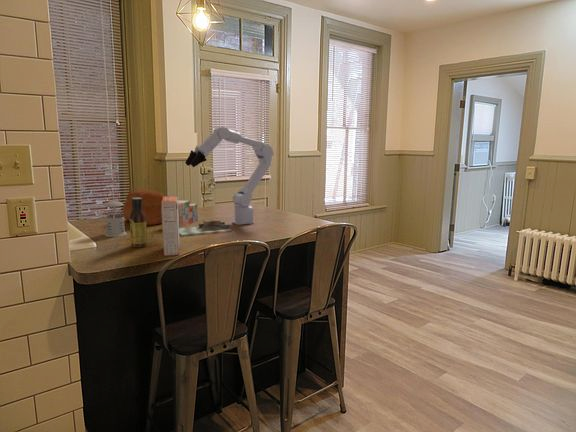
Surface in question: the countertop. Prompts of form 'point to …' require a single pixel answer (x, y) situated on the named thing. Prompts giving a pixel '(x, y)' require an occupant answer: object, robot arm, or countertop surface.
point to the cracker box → (170, 225)
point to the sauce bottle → (138, 224)
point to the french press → (114, 220)
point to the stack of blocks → (187, 213)
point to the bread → (145, 205)
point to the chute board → (199, 231)
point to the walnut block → (211, 222)
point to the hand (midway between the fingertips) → (189, 165)
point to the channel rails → (214, 227)
